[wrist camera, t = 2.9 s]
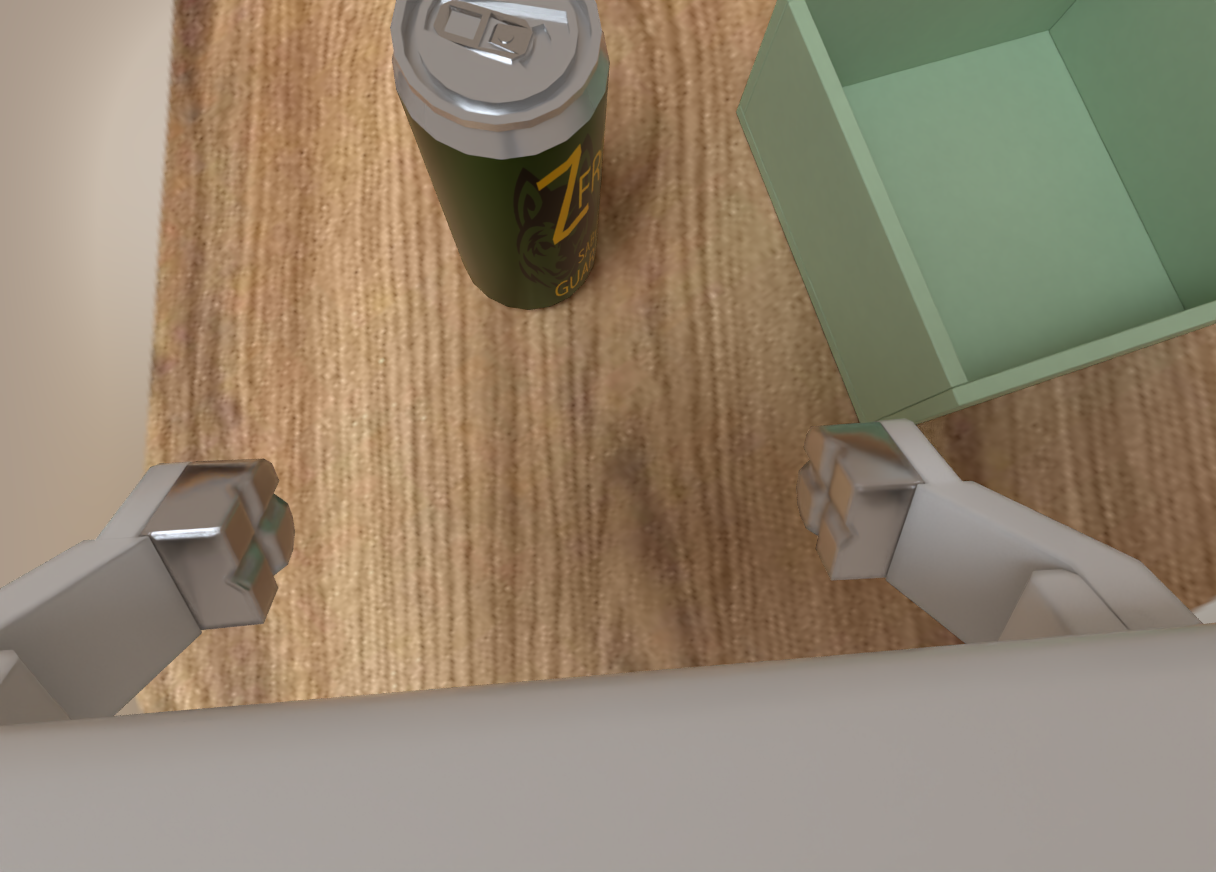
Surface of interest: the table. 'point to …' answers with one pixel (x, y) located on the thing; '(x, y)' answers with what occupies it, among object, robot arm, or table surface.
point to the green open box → (989, 185)
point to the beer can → (510, 134)
